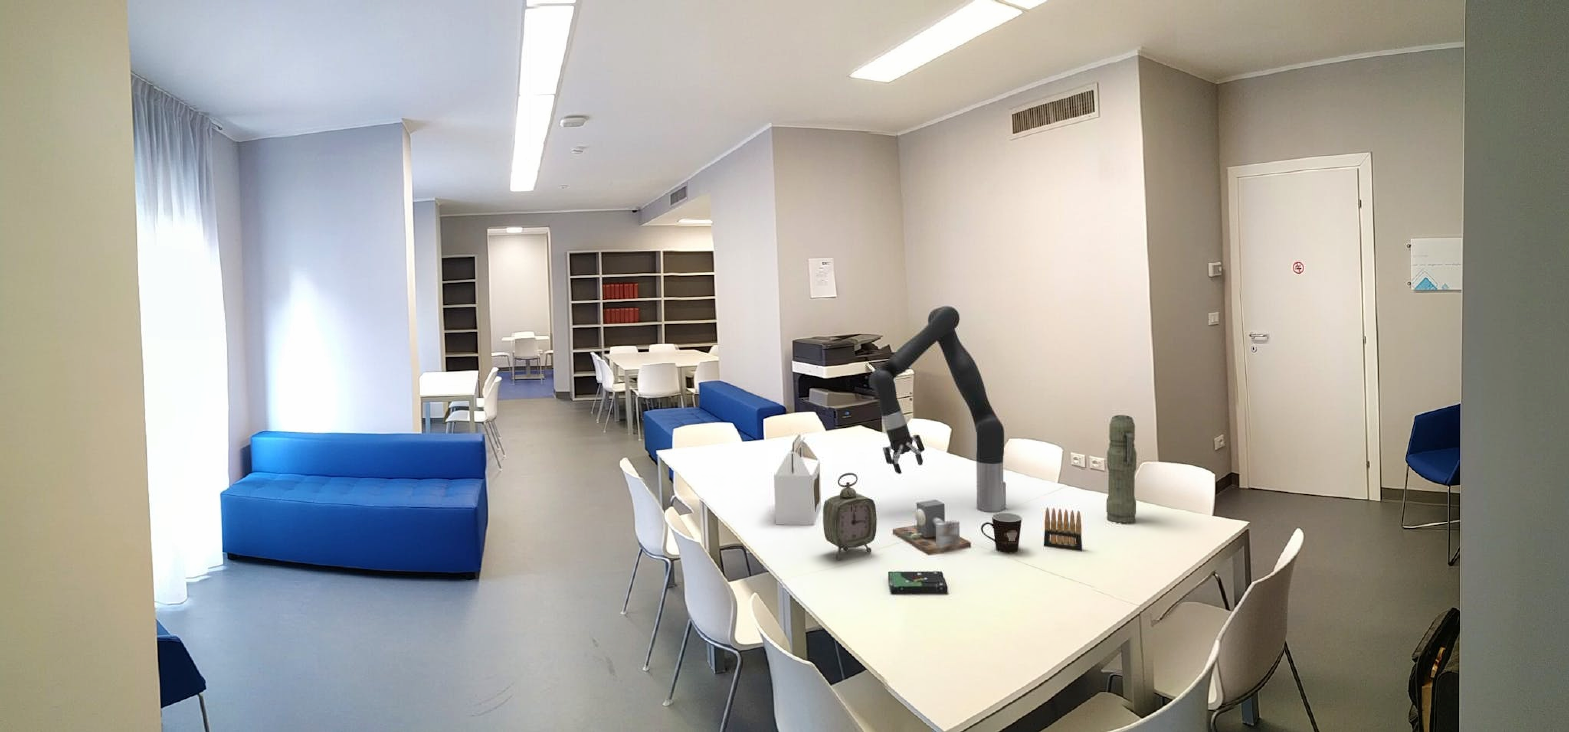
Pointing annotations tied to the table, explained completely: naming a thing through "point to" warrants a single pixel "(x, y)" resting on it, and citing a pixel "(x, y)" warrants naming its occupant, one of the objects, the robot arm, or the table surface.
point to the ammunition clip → (1063, 531)
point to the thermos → (1121, 470)
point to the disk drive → (917, 582)
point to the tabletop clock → (849, 519)
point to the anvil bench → (935, 538)
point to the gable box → (798, 487)
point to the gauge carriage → (929, 517)
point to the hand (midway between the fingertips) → (910, 469)
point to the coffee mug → (1005, 531)
